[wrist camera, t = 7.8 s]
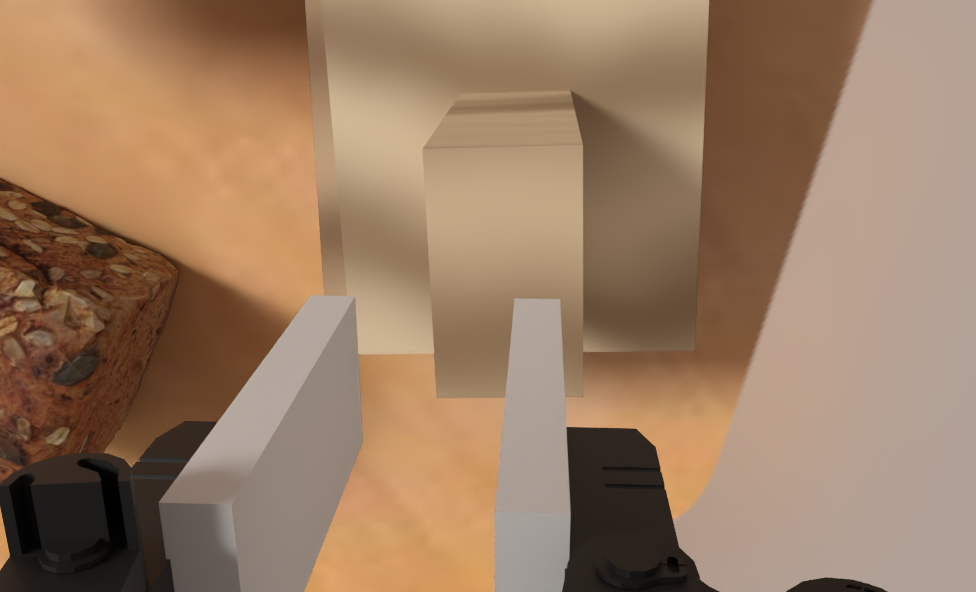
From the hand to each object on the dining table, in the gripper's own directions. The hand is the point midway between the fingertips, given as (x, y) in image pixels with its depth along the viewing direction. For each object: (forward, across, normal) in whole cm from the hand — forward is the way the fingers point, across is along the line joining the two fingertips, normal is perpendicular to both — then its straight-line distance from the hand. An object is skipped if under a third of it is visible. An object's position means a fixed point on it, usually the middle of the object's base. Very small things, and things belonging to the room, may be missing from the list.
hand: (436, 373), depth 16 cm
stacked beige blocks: (+17, +1, +4) cm, 17 cm away
